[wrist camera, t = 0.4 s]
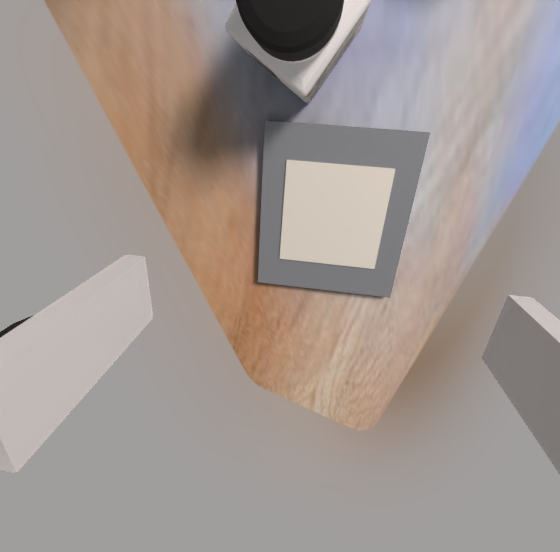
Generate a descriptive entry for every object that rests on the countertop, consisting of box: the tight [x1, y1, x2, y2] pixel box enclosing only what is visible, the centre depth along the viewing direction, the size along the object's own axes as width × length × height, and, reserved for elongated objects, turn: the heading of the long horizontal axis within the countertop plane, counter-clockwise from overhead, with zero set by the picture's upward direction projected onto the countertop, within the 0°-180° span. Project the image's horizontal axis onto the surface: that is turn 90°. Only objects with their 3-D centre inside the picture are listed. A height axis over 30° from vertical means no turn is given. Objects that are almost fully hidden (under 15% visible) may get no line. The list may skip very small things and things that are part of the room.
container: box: [226, 0, 371, 103], centre depth 24 cm, size 8×8×13 cm
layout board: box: [258, 120, 430, 298], centre depth 35 cm, size 18×16×1 cm
